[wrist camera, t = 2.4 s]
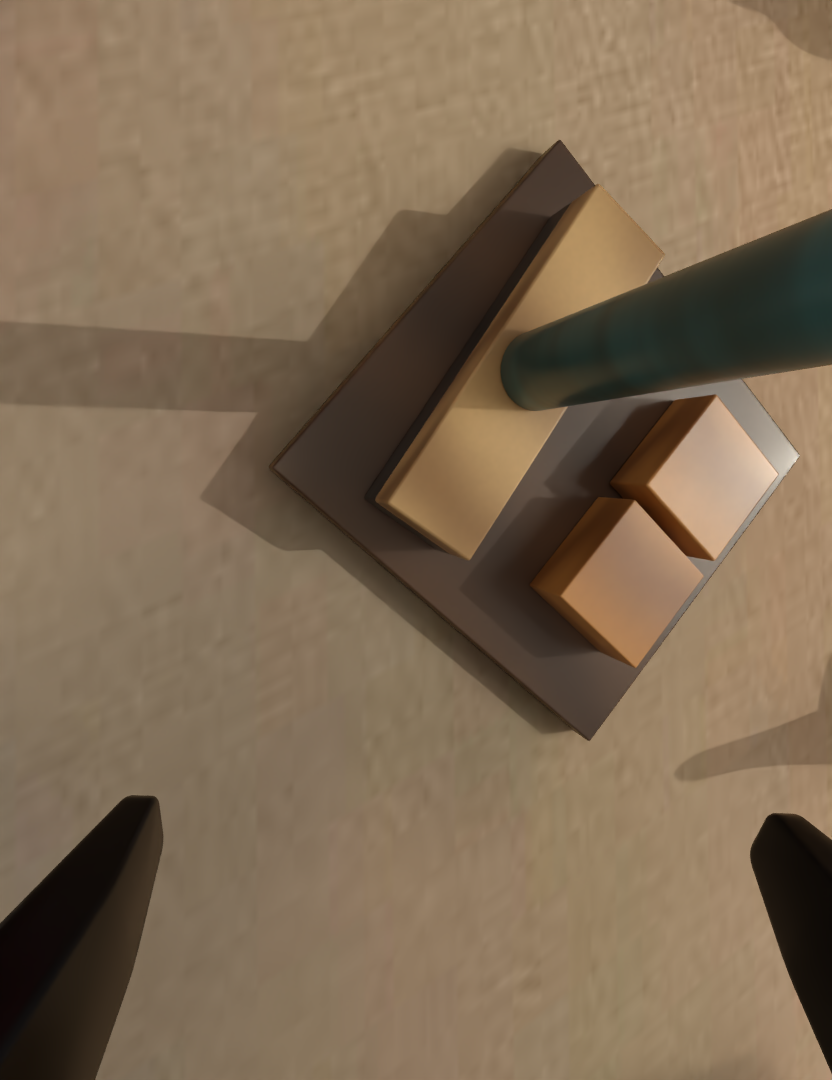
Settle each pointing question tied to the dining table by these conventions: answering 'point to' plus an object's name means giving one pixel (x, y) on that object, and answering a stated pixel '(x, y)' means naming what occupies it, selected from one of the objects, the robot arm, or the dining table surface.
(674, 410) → the wooden square block
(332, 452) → the shelf board
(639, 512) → the brown wooden square block
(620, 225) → the brush
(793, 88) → the dining table surface
